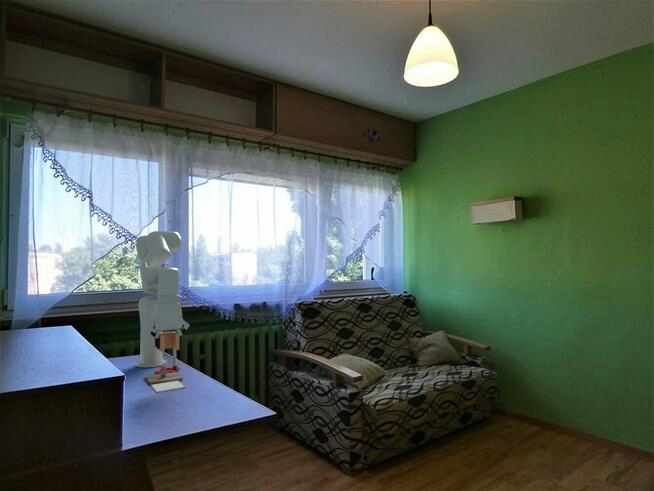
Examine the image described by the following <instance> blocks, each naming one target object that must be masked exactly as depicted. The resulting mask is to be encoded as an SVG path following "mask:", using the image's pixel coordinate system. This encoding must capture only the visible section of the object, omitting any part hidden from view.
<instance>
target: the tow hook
mask: <svg viewBox="0 0 654 491" xmlns="http://www.w3.org/2000/svg"><path fill="white" fill-rule="evenodd" d="M172 352H173V354H172V355H173V359H172V366H171V367H170V366H169V367H168V366H166V373H167V372H174V371H175V372H176V373H177V372H178V371H179V370H180V369H181V366H179V365H178V359H177V350H175V349H173V348H172ZM154 372H155V373H154V374H161V368H158V369H156V370H155V371H154Z"/></svg>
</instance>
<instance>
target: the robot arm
mask: <svg viewBox="0 0 654 491" xmlns="http://www.w3.org/2000/svg"><path fill="white" fill-rule="evenodd" d="M181 246H182V237H181V235H180V234H179V233H178V232H177V231H168V230H165V231H164V230H163V231H162V230H155V231H151V232H148V234H147V235H141V236H138V237H137V238H136V240H135V247H136V248H135V249H136V252H137V256H138V258H139V261H140V266H139V273H140V280H141V288H142V291H143V292H144V293H146V294H157V295H151V296H150V295H149V296H145V297H144V296H143V297H141V299H140V300H139V302H138V312H139V321H140V345H139V346H140V353H139V354H140V355H139V356H140V357H139V358H140V359H139V360H140V361H138V362H136V367H138V368H147V369H148V368H156V367H161V365H166V363H167V360H165V359H163V356H164V355H163V354H164V352H160V351H159V350H158V349H160V338H159V335H160V333H164V332H168V331H174V330H175V332H177V333H179V348H180V346H181V345H182V336H183V334H184V333H185V332H186V330H188V329H189V327H190V326H191V325H190V324H189V322H187V321H186V320H184V319H183V311H182V306H181V305H182V304H181V303H180V301H183V296H180V295H179V293H180V292H179V291H180V290H179V289H180V287H179V286H180V284H179V283H180V278H181V276H180V274H181V273H180V271H179V270H178V268H176V267H168V266H167V267H163V265H164V264H165V263H168V261H169V260H170V259H171V254H175V253H176V252H178V251H179V250H180V249H181ZM161 265H162V266H161Z"/></svg>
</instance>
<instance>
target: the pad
mask: <svg viewBox="0 0 654 491" xmlns="http://www.w3.org/2000/svg"><path fill="white" fill-rule="evenodd" d="M150 387H151V388H152V389H153V390H154V391H155V393H164V392H168V391H169V392H170V391H174V390H179V389H180V390H181V389H185V388H186V386H185V385H184V384H183V383H182V382H180V381H173V382H167V383H160V384H154V385H150Z"/></svg>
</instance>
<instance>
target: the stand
mask: <svg viewBox="0 0 654 491" xmlns="http://www.w3.org/2000/svg"><path fill="white" fill-rule="evenodd" d="M166 368H167V365H166V364H164V365H161V366H160V369H161V374H157V373H154V374H147V375H144V380H146V382H147V383H148V384H149V386H151V385H154V384H160V383H167V382H173V381H179V382H180V381H183V380H184V379H183V377H182V376H181V375H180V374H179V373H178V372H177V371H176V372H175V371H174V372H167V373H166V371H167V370H166Z"/></svg>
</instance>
